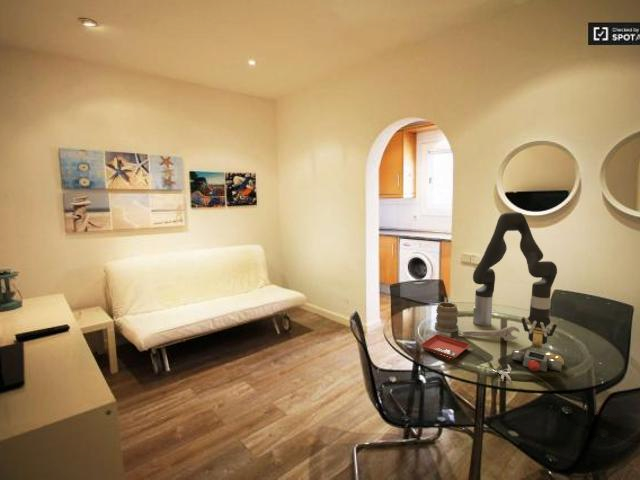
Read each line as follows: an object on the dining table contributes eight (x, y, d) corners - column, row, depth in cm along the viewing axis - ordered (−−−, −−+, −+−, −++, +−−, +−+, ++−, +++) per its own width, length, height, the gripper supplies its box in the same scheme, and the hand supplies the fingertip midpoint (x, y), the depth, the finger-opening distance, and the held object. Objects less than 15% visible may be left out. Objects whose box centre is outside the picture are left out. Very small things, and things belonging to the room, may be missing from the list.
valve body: (508, 366, 159) (509, 355, 158) (514, 355, 169) (514, 345, 168) (559, 379, 147) (560, 368, 146) (561, 366, 157) (562, 356, 156)
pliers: (509, 362, 160) (519, 380, 145) (508, 365, 160) (519, 383, 145) (485, 360, 162) (493, 377, 147) (485, 363, 162) (493, 381, 148)
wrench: (458, 339, 194) (519, 340, 184) (458, 341, 192) (520, 341, 182) (457, 325, 193) (518, 325, 183) (457, 327, 191) (519, 327, 181)
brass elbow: (543, 358, 165) (546, 364, 160) (543, 351, 164) (547, 357, 159) (560, 360, 163) (564, 366, 157) (560, 353, 162) (564, 359, 157)
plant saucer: (470, 349, 176) (470, 343, 176) (455, 362, 163) (455, 356, 163) (436, 339, 189) (436, 333, 188) (419, 350, 176) (420, 344, 176)
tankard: (458, 333, 195) (459, 307, 193) (434, 331, 199) (435, 305, 197) (457, 320, 214) (458, 296, 211) (435, 318, 218) (435, 295, 215)
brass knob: (530, 347, 158) (531, 330, 157) (531, 343, 162) (532, 326, 160) (542, 349, 155) (544, 332, 154) (544, 345, 159) (545, 329, 157)
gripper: (520, 304, 157) (518, 341, 159) (558, 311, 148) (555, 349, 151) (523, 300, 163) (521, 335, 165) (560, 306, 154) (557, 343, 156)
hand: (537, 342), depth 158 cm, fingers closed on brass knob, 4 cm apart
